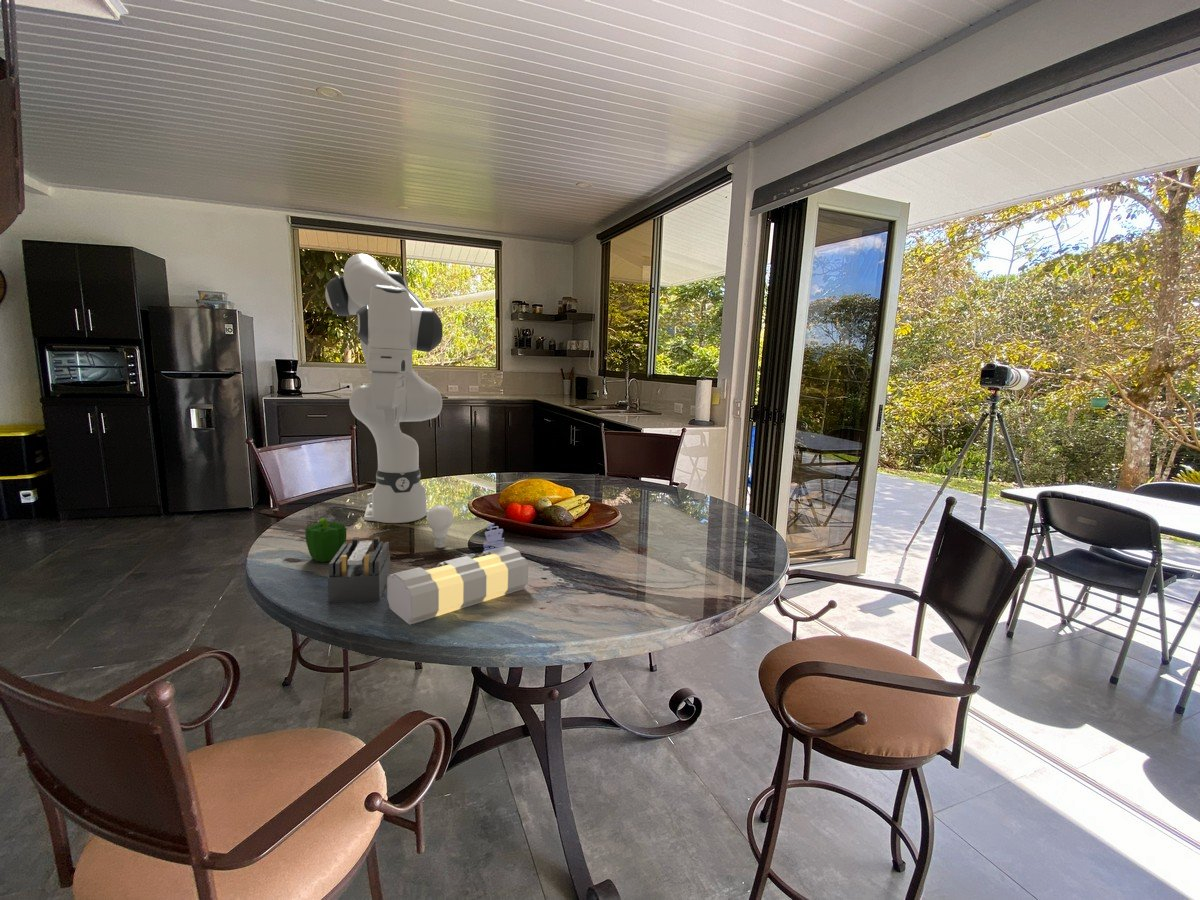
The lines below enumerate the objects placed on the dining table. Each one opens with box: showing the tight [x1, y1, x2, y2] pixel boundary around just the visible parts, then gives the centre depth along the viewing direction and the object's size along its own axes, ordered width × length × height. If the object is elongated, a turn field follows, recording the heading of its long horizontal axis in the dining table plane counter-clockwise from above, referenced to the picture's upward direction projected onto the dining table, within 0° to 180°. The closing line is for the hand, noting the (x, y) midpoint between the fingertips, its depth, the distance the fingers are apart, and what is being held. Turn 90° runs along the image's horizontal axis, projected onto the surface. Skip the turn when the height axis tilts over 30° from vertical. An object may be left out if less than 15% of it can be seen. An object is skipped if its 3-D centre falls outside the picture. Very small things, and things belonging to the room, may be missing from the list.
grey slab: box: [347, 539, 374, 565], centre depth 106 cm, size 12×2×1 cm, turn 13°
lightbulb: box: [426, 504, 454, 550], centre depth 130 cm, size 6×6×11 cm
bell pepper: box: [304, 517, 347, 563], centre depth 120 cm, size 8×8×10 cm
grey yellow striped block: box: [386, 522, 529, 626], centre depth 103 cm, size 25×10×13 cm, turn 135°
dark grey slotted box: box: [327, 536, 391, 603], centre depth 106 cm, size 13×9×8 cm
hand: (391, 426), depth 116 cm, fingers closed
